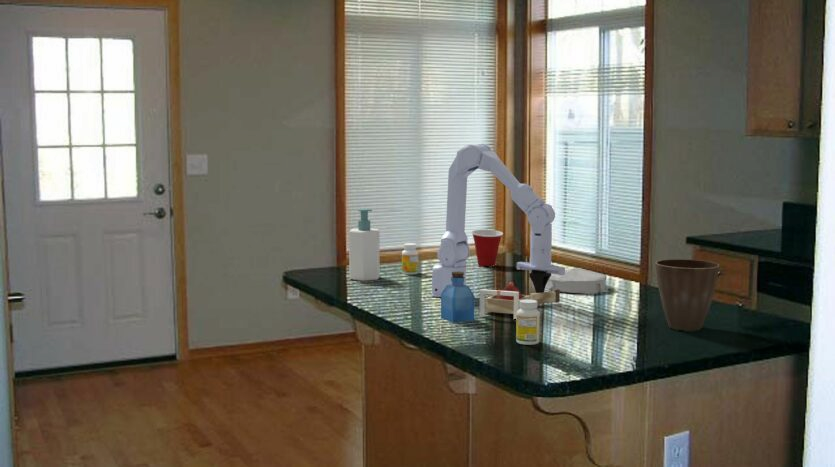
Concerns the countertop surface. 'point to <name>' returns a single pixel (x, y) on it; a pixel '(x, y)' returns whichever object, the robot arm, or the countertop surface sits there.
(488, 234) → the plastic cup
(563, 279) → the food container
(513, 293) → the white goalpost frame
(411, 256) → the supplement bottle
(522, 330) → the supplement bottle
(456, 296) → the perfume bottle
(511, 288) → the onion
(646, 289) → the countertop surface
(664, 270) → the plant pot
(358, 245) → the soap bottle
